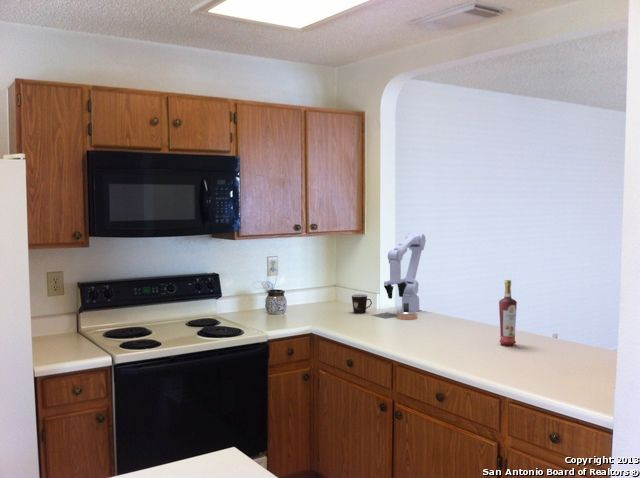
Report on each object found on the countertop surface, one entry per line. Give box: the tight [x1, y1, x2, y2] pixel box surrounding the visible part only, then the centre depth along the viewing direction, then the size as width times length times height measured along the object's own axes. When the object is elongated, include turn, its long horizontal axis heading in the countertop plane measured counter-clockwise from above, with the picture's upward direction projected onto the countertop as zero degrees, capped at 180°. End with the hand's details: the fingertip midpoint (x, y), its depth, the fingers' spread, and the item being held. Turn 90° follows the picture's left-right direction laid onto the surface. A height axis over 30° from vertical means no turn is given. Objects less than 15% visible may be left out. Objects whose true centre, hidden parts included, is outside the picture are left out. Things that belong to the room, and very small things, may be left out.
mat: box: [370, 311, 397, 320], centre depth 335 cm, size 12×12×1 cm
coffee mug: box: [351, 293, 373, 315], centre depth 343 cm, size 12×9×10 cm
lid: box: [396, 303, 417, 315], centre depth 328 cm, size 10×10×5 cm
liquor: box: [498, 279, 518, 347], centre depth 270 cm, size 7×7×28 cm
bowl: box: [396, 312, 418, 321], centre depth 327 cm, size 10×10×3 cm
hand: (395, 297), depth 336 cm, fingers open, 7 cm apart
